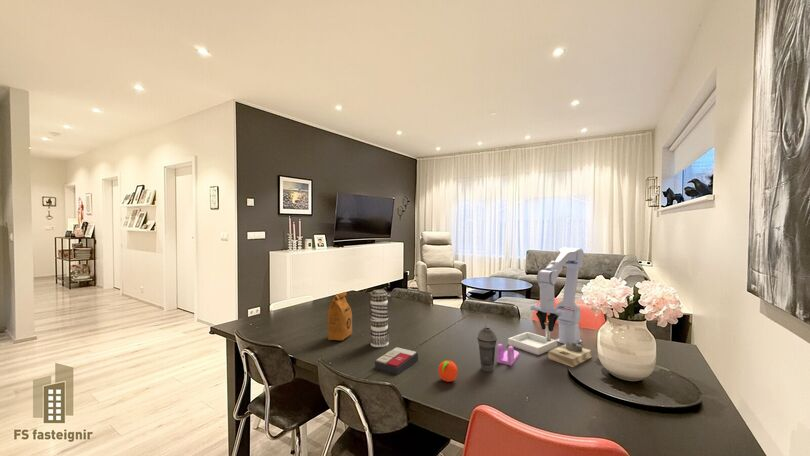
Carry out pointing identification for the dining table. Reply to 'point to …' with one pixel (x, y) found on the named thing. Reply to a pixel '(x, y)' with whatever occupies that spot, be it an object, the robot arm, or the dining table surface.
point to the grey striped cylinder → (379, 318)
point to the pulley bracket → (569, 354)
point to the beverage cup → (487, 347)
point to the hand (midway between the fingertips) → (547, 329)
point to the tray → (532, 343)
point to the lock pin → (547, 331)
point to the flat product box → (396, 360)
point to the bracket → (506, 355)
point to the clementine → (447, 371)
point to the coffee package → (339, 318)
